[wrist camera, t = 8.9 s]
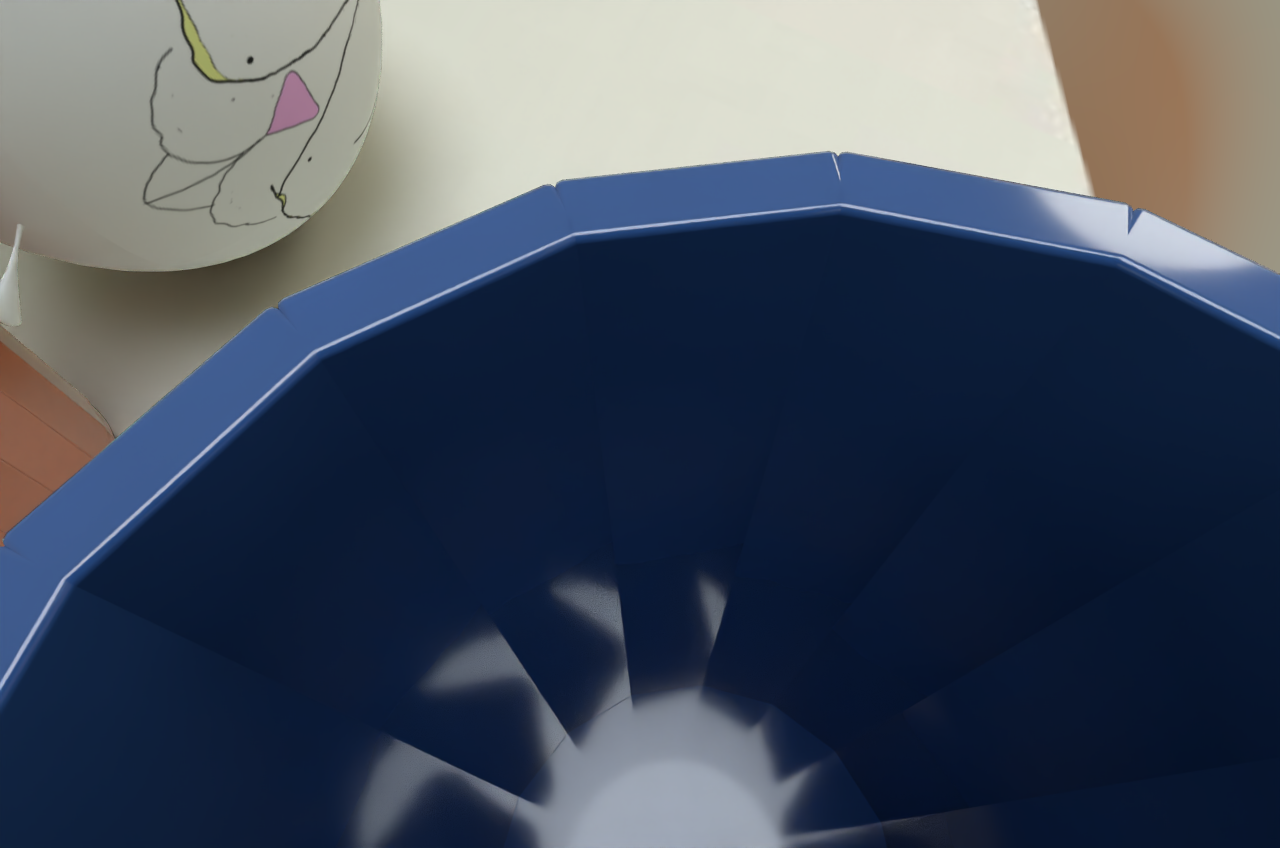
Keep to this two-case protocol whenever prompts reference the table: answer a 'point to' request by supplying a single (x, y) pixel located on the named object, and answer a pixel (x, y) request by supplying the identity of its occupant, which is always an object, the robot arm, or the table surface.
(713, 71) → the table surface
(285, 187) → the stuffed toy
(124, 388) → the table surface
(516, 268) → the blue cup
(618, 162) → the table surface
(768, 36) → the table surface
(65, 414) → the terracotta cup
